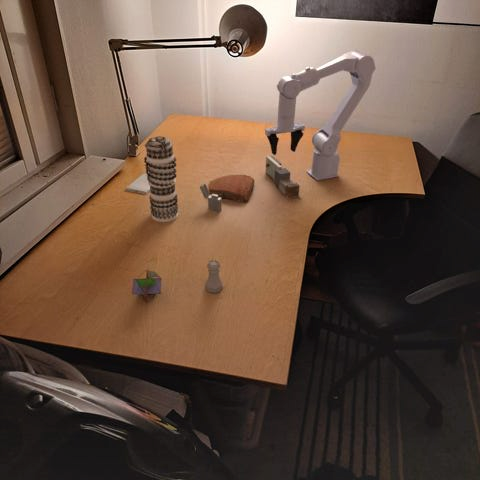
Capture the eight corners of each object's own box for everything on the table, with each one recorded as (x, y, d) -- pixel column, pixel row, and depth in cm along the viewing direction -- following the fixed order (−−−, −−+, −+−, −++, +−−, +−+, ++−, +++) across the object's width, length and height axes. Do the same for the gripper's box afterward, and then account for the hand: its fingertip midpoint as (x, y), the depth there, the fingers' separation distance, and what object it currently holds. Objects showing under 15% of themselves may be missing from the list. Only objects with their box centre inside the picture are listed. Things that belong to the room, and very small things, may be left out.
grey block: (284, 180, 162) (285, 167, 159) (289, 185, 159) (290, 172, 156) (274, 182, 160) (275, 169, 158) (279, 187, 157) (280, 174, 155)
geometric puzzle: (160, 303, 104) (159, 269, 105) (130, 304, 104) (129, 270, 104) (162, 301, 111) (162, 269, 112) (134, 302, 111) (134, 269, 111)
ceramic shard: (216, 166, 161) (256, 176, 160) (213, 182, 164) (253, 193, 163) (205, 178, 148) (249, 190, 147) (202, 196, 151) (245, 207, 150)
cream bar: (268, 171, 169) (269, 155, 166) (280, 182, 162) (281, 166, 158) (263, 172, 169) (264, 156, 165) (275, 183, 161) (276, 167, 157)
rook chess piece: (204, 282, 114) (204, 257, 110) (222, 282, 115) (222, 256, 110) (205, 294, 111) (204, 268, 106) (223, 293, 111) (223, 267, 106)
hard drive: (143, 172, 164) (125, 187, 154) (163, 176, 162) (146, 191, 152) (143, 177, 165) (125, 191, 155) (163, 180, 163) (147, 195, 153)
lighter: (221, 209, 145) (221, 187, 141) (219, 212, 144) (219, 189, 139) (202, 204, 148) (202, 182, 143) (200, 206, 146) (199, 184, 142)
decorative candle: (171, 225, 137) (165, 147, 123) (144, 219, 139) (135, 142, 125) (184, 211, 144) (180, 136, 130) (159, 205, 146) (152, 131, 132)
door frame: (271, 170, 171) (272, 155, 167) (299, 195, 154) (301, 179, 151) (260, 171, 169) (261, 157, 166) (288, 197, 153) (289, 182, 149)
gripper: (299, 108, 157) (295, 145, 165) (261, 113, 152) (260, 151, 160) (309, 114, 152) (305, 152, 159) (271, 119, 147) (269, 158, 154)
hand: (283, 152), depth 159 cm, fingers open, 7 cm apart
